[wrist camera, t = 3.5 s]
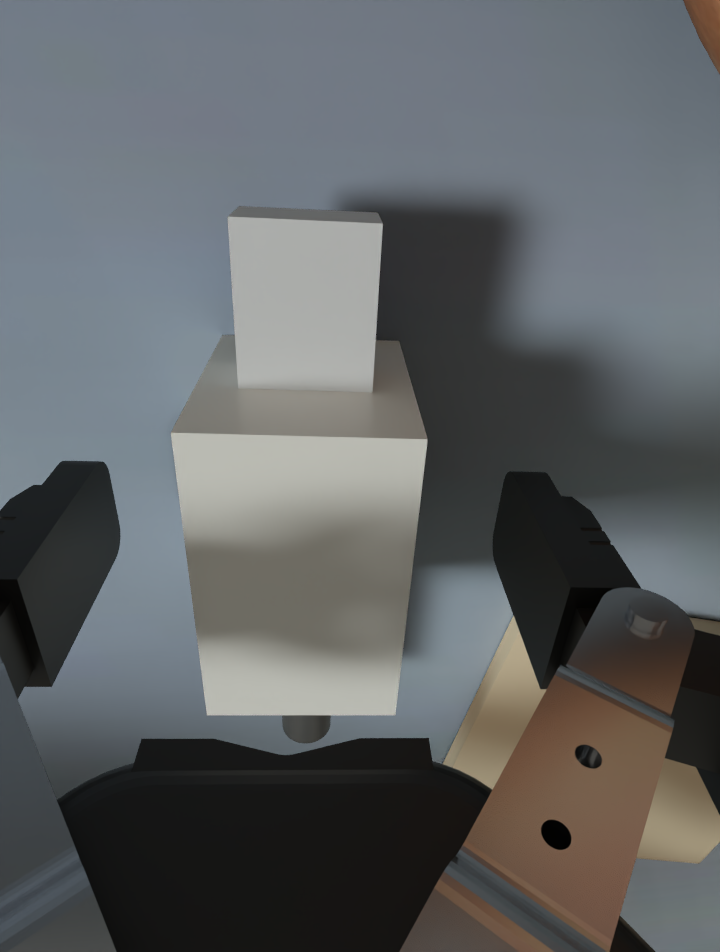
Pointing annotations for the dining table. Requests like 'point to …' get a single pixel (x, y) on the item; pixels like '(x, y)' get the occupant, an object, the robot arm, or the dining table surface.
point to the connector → (301, 479)
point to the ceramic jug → (707, 25)
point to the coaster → (505, 719)
